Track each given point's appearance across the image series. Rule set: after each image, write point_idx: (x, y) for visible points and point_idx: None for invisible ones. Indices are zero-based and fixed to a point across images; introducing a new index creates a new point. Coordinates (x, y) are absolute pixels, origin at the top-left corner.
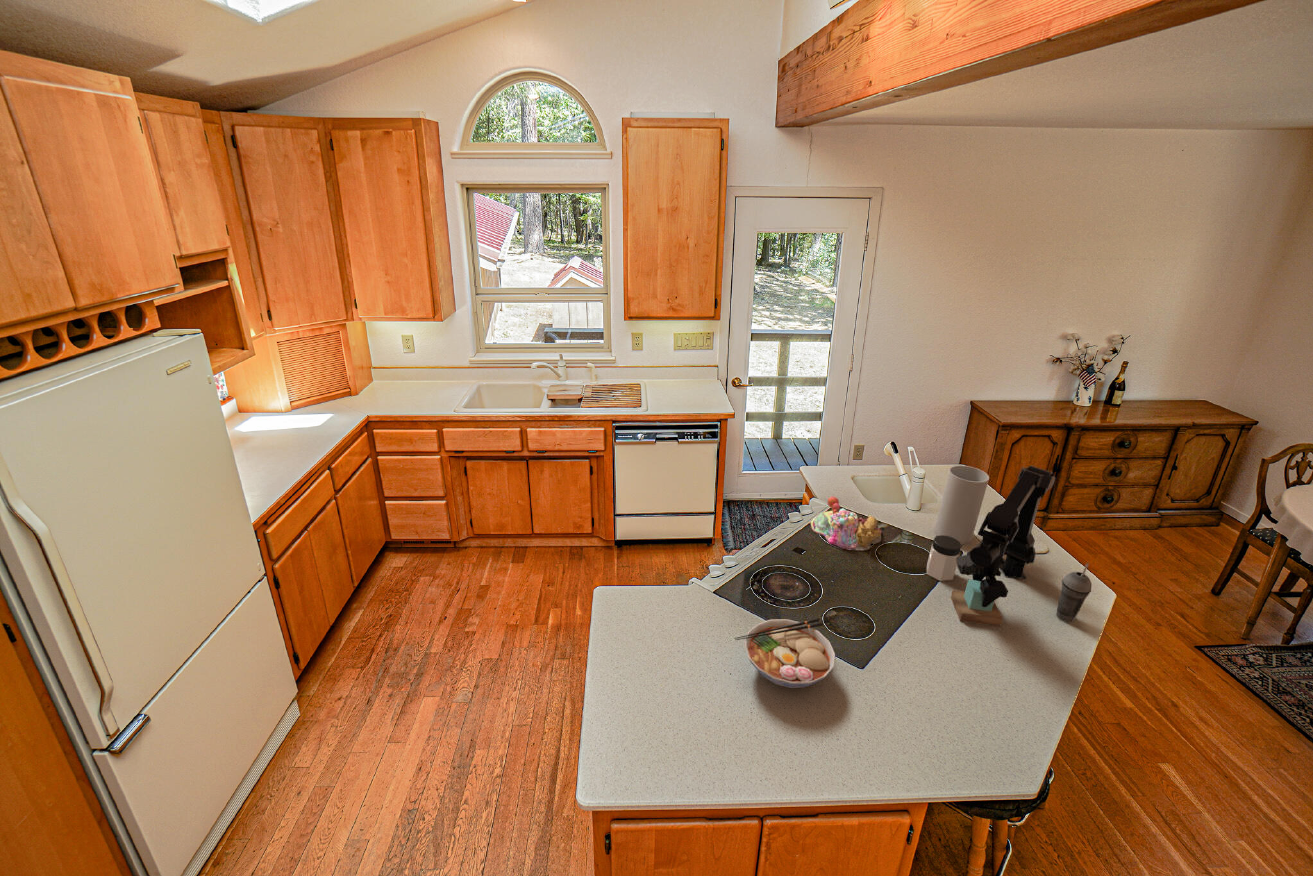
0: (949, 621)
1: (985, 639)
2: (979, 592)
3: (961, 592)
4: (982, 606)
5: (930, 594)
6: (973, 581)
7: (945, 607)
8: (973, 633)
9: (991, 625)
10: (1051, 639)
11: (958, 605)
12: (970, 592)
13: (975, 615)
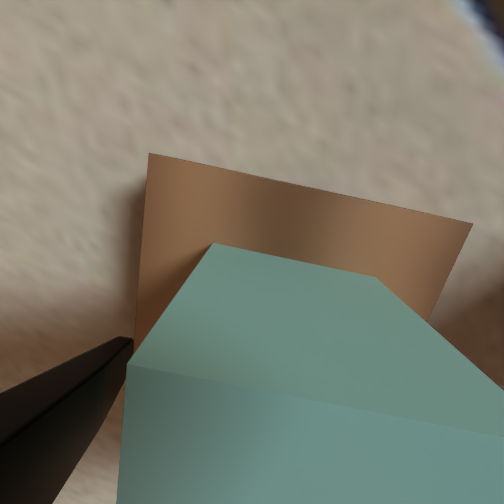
0: (170, 76)
1: (34, 239)
2: (123, 448)
3: (420, 279)
4: (116, 339)
5: (487, 64)
6: (478, 499)
7: (323, 121)
8: (73, 193)
9: None
10: (102, 499)
11: (269, 179)
12: (282, 318)
13: (143, 255)
